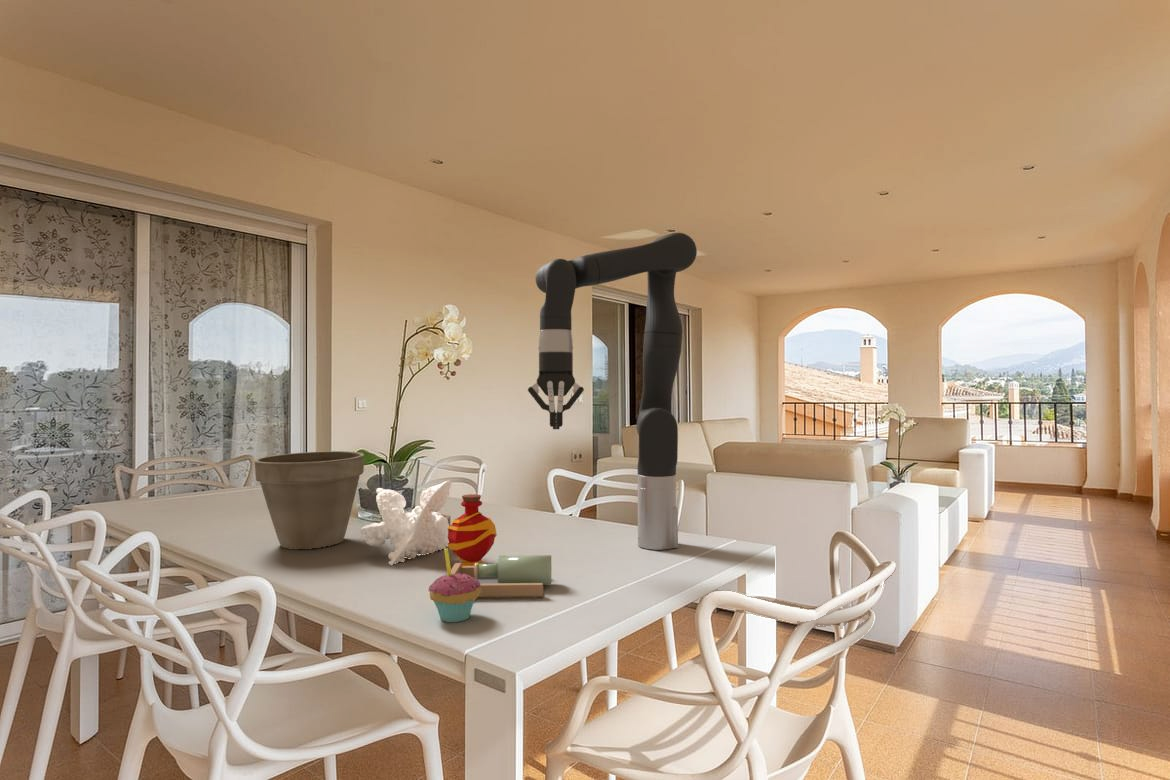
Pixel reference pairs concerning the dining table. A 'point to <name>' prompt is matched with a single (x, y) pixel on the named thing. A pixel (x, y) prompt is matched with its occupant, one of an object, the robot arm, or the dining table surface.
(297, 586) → the dining table surface
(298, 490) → the plant pot
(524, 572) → the bottle
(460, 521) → the potion bottle
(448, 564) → the cupcake
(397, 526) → the white lumpy branched piece
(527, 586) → the wooden shallow tray
